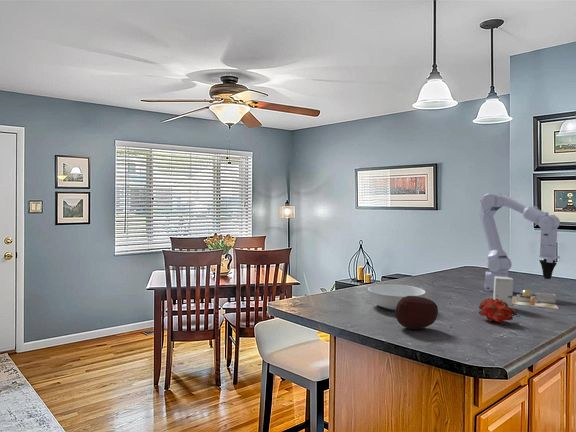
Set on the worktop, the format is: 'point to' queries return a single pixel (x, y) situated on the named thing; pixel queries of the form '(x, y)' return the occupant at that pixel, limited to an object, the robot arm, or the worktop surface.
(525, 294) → the post
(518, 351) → the worktop surface
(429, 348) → the worktop surface
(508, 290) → the skincare box
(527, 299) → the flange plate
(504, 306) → the dragon fruit
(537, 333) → the worktop surface
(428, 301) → the potato
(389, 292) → the serving bowl
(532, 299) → the dowel
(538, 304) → the board
